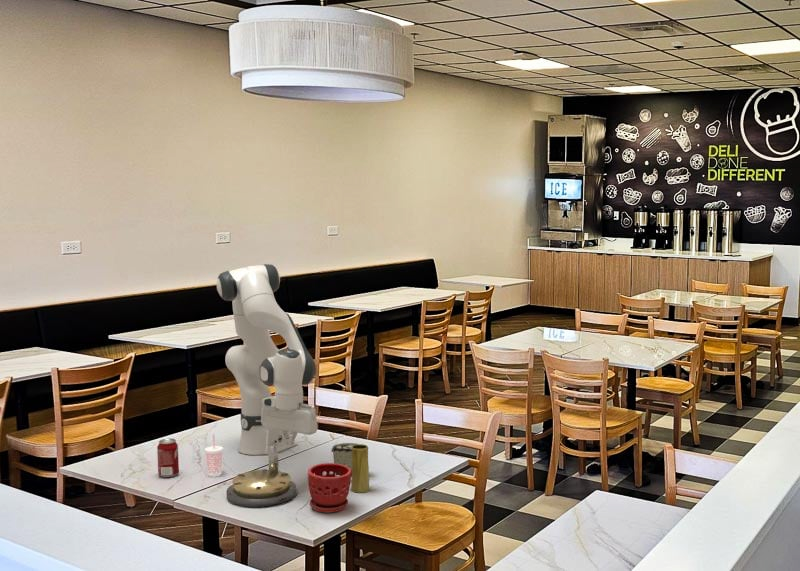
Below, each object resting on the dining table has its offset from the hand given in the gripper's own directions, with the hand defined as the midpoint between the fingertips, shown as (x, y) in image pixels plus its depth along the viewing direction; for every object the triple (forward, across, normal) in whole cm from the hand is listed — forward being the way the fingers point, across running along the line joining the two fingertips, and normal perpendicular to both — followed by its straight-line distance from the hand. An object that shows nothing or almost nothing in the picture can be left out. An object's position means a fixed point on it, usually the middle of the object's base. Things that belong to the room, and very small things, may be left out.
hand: (289, 444), depth 263 cm
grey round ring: (+16, +6, +6) cm, 18 cm away
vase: (+16, -18, -14) cm, 28 cm away
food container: (+15, -7, -25) cm, 30 cm away
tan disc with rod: (+14, +6, +6) cm, 16 cm away
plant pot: (+16, -18, +4) cm, 25 cm away
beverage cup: (+16, +33, -2) cm, 37 cm away
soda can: (+16, +46, +7) cm, 50 cm away
